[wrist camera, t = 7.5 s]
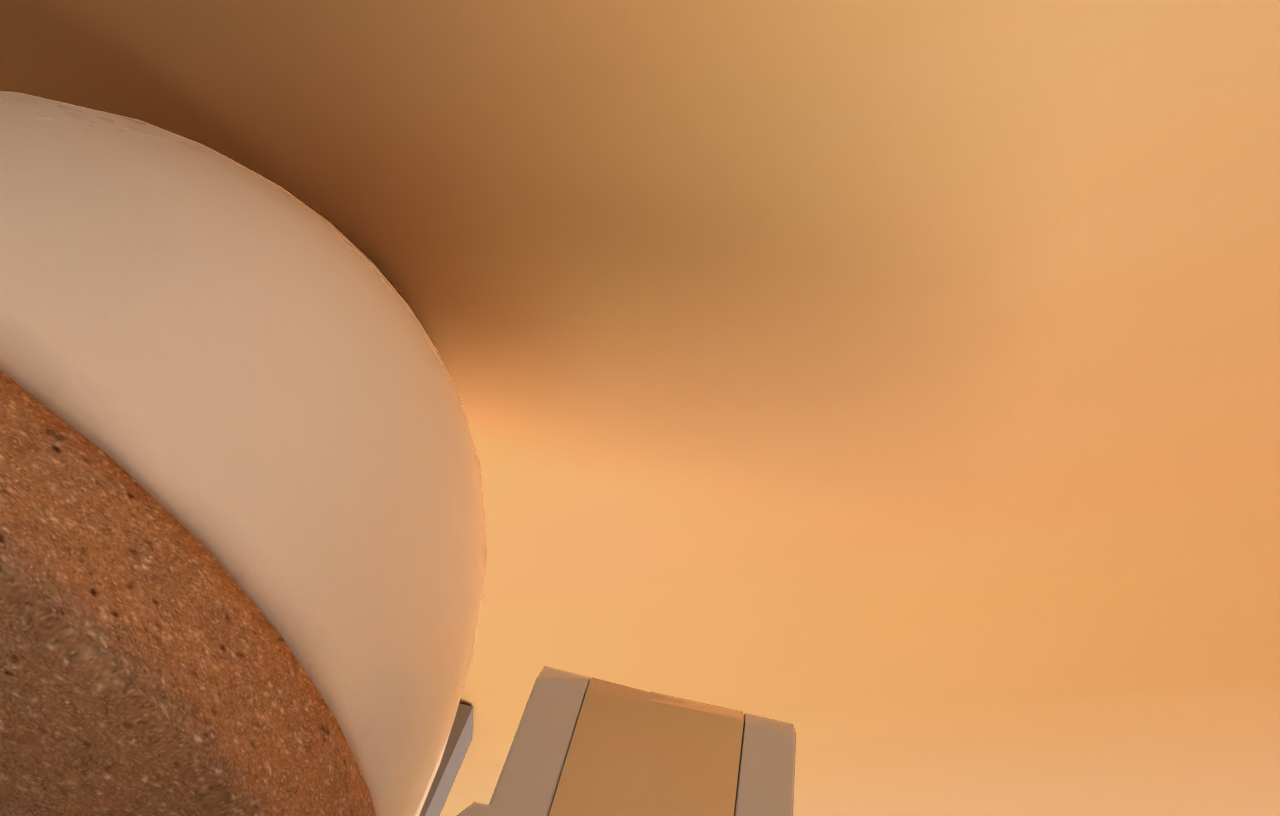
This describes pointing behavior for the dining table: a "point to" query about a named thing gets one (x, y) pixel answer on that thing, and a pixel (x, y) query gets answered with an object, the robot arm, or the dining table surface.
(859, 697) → the dining table surface
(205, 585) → the lidded jar
